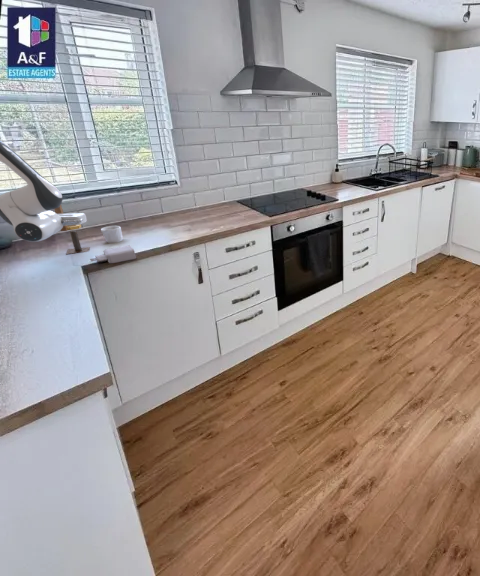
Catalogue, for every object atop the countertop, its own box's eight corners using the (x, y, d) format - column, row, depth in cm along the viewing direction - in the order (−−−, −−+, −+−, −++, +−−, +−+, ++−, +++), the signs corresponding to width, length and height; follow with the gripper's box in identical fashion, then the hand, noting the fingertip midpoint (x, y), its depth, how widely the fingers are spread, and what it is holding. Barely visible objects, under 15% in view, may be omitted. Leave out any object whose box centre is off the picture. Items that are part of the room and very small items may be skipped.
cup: (100, 243, 180) (95, 227, 176) (118, 239, 186) (113, 223, 182) (110, 247, 174) (104, 231, 171) (128, 243, 180) (123, 227, 177)
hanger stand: (66, 256, 159) (60, 233, 156) (68, 251, 166) (62, 229, 162) (89, 253, 164) (83, 231, 160) (90, 249, 170) (84, 228, 166)
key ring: (76, 230, 154) (68, 204, 150) (51, 231, 151) (42, 204, 147) (83, 225, 163) (76, 200, 158) (60, 226, 160) (52, 200, 155)
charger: (90, 262, 154) (131, 254, 163) (94, 269, 148) (137, 260, 157) (86, 252, 152) (128, 244, 161) (90, 258, 146) (134, 249, 155)
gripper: (78, 213, 143) (89, 207, 155) (10, 215, 136) (27, 208, 147) (82, 229, 145) (93, 222, 157) (16, 232, 138) (32, 224, 150)
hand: (61, 215), depth 152 cm, fingers closed on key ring
